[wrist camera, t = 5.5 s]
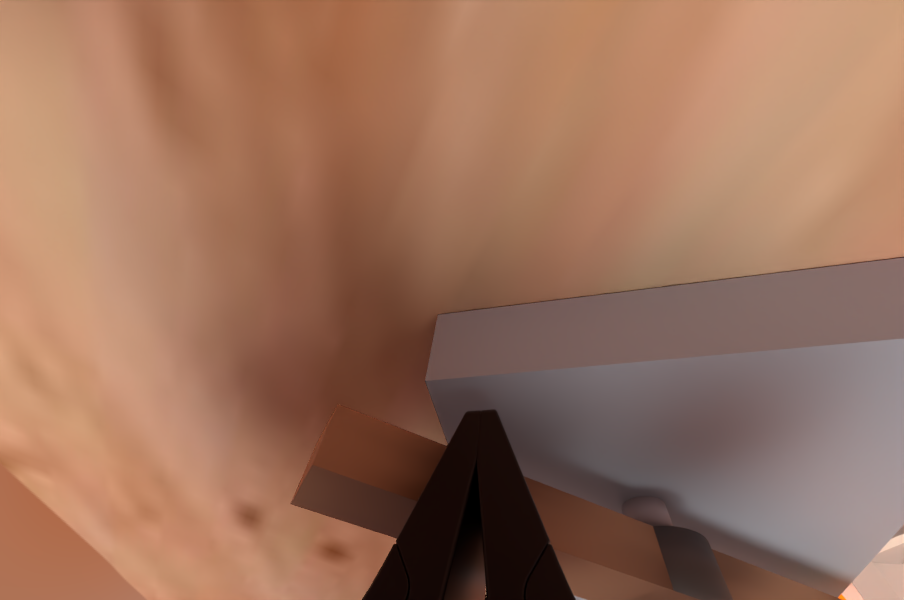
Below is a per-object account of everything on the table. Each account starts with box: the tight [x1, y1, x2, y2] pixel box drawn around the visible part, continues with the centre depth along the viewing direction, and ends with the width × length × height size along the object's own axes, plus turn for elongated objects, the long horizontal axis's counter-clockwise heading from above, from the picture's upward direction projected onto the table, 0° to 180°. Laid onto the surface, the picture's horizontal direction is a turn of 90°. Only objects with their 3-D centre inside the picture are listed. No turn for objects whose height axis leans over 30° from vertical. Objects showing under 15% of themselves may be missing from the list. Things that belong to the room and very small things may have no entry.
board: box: [425, 258, 904, 600], centre depth 14 cm, size 16×14×4 cm
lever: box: [291, 404, 842, 600], centre depth 11 cm, size 22×3×2 cm, turn 63°
